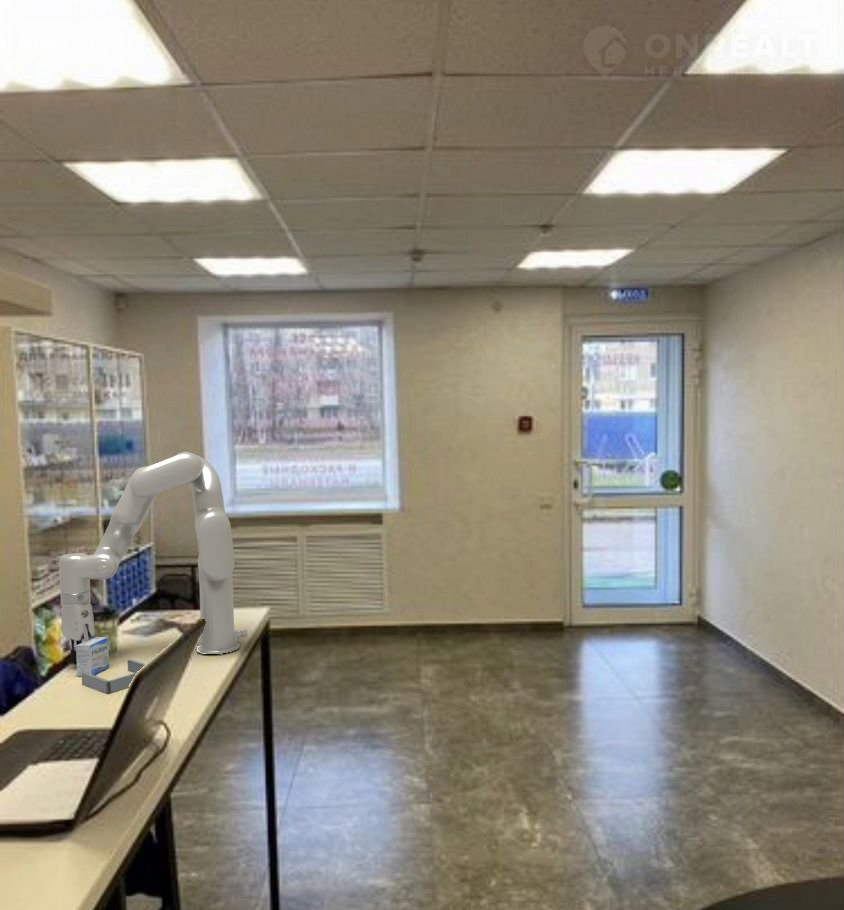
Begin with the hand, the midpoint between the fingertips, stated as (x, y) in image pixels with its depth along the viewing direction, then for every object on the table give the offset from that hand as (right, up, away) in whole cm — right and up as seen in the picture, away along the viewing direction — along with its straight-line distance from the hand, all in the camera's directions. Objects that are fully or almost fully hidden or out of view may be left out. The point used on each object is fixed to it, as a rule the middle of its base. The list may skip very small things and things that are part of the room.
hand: (78, 662), depth 201 cm
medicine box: (+7, -1, -5) cm, 8 cm away
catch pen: (+17, -1, -13) cm, 21 cm away
